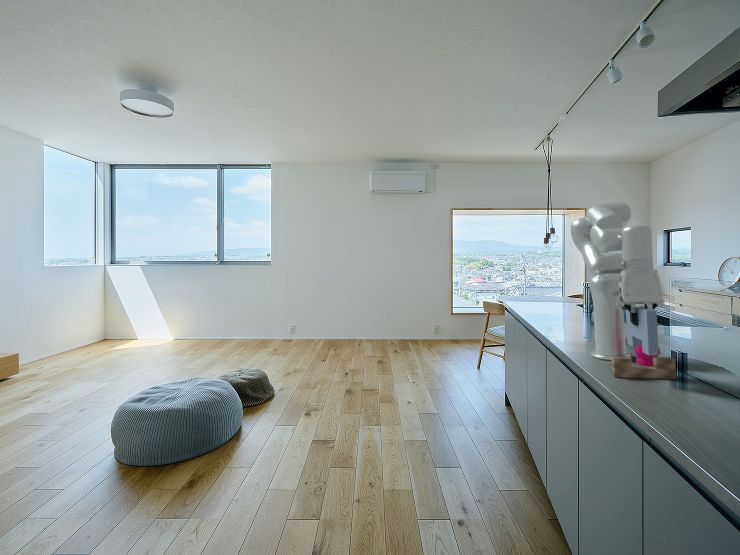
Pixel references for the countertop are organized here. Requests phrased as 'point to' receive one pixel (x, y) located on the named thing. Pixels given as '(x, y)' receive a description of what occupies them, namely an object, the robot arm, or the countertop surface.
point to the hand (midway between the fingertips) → (640, 324)
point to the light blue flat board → (643, 330)
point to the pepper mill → (644, 356)
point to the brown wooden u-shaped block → (644, 368)
